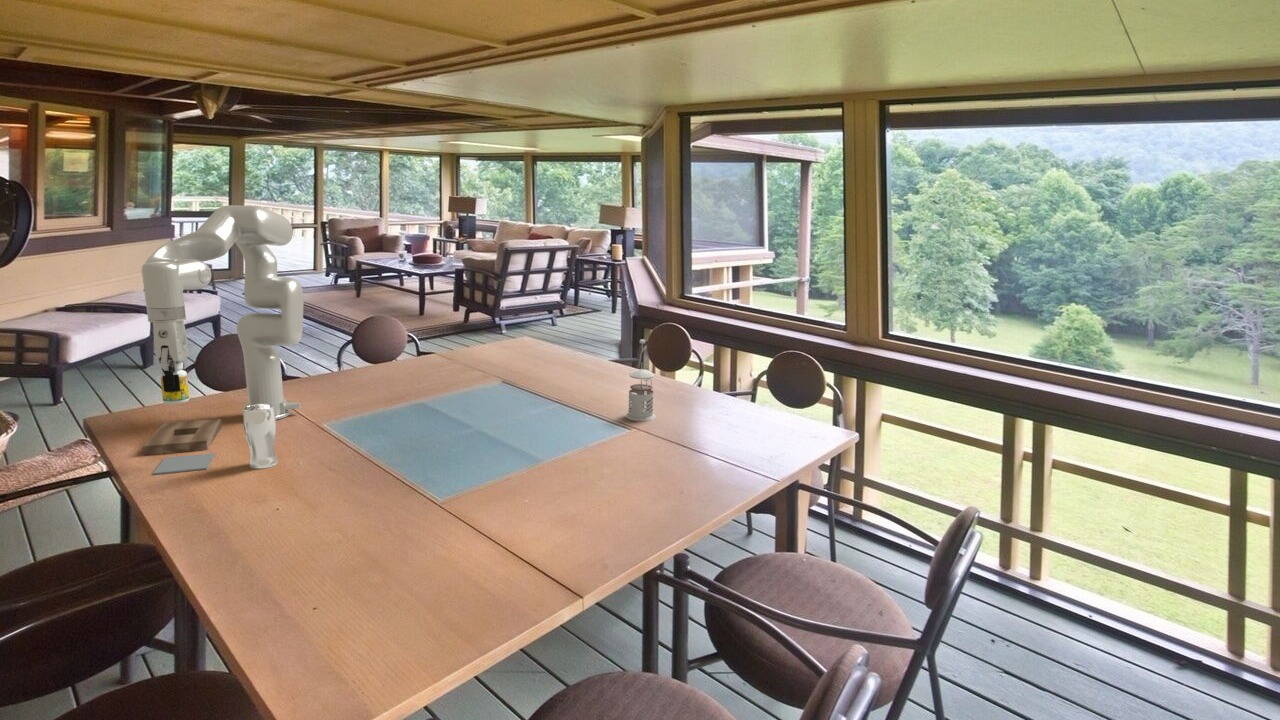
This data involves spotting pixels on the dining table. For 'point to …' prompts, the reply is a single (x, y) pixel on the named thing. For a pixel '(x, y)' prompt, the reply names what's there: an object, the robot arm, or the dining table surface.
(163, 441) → the brown board with hole
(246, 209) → the robot arm
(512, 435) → the dining table surface
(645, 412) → the french press
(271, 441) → the beer glass
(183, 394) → the supplement bottle
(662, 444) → the dining table surface
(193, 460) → the rubber mat
